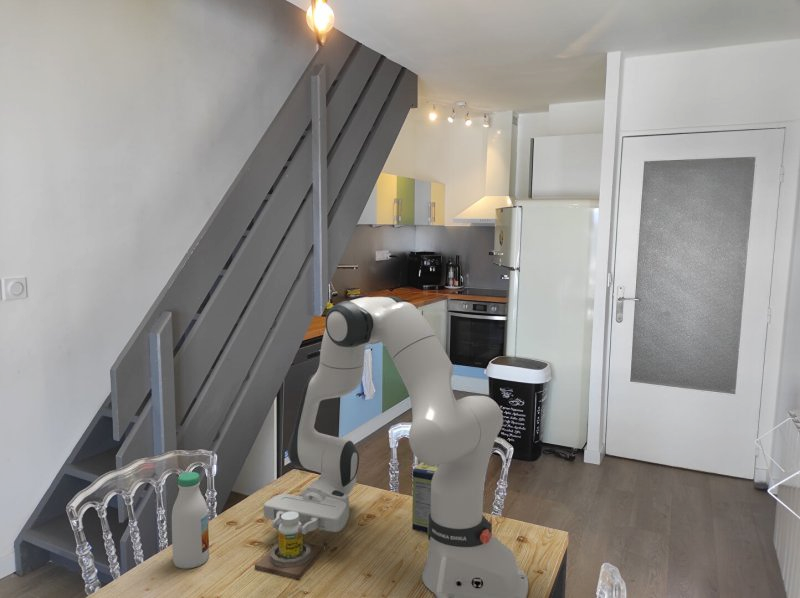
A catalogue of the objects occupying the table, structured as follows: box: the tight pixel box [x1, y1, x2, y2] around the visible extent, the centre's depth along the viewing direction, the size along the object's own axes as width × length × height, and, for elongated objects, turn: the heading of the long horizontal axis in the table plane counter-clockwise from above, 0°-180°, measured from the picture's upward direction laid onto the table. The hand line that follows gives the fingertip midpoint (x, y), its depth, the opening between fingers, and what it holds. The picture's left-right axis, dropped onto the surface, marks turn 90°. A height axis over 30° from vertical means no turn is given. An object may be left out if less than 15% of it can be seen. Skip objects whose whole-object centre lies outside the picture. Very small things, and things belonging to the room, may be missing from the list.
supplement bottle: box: [277, 511, 303, 559], centre depth 129 cm, size 5×5×10 cm
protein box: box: [411, 461, 439, 533], centre depth 148 cm, size 10×16×16 cm
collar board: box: [254, 540, 325, 580], centre depth 130 cm, size 11×12×2 cm
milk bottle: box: [171, 471, 210, 570], centre depth 128 cm, size 8×8×20 cm
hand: (288, 528), depth 128 cm, fingers closed on supplement bottle, 5 cm apart
